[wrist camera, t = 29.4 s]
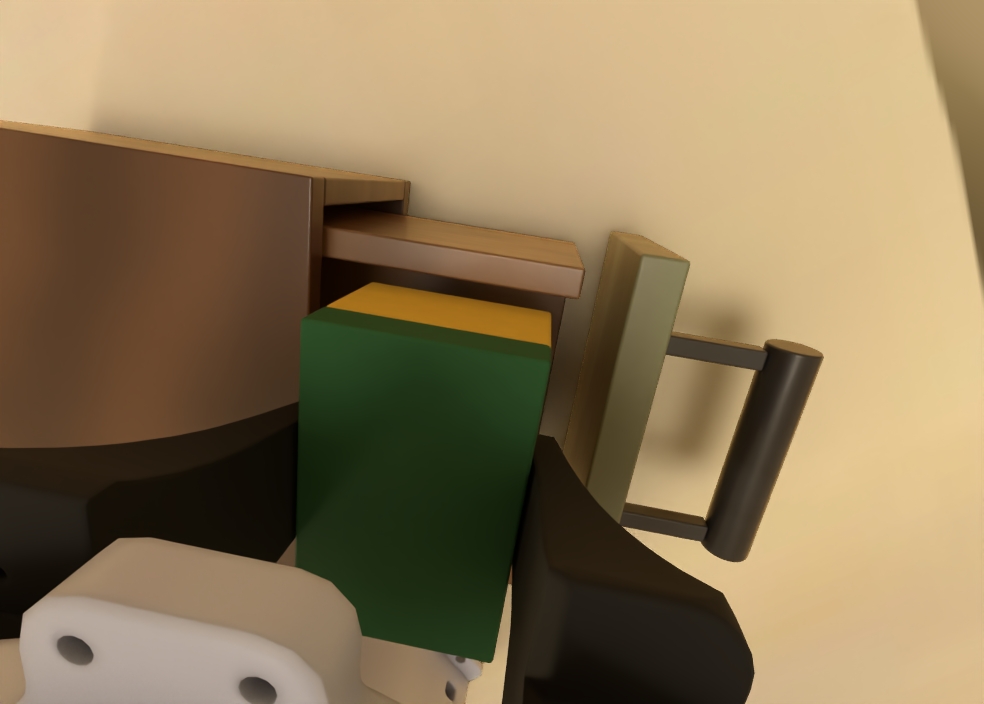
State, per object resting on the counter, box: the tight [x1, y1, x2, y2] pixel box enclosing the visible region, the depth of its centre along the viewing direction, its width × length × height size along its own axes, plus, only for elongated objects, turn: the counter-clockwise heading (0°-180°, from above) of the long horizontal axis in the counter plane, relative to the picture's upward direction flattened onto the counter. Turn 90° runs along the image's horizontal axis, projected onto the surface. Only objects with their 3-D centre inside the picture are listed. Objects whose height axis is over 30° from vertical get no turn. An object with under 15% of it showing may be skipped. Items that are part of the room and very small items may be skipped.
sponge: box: [295, 282, 551, 663], centre depth 12 cm, size 5×8×4 cm, turn 171°
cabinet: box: [0, 120, 410, 567], centre depth 18 cm, size 13×12×8 cm
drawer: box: [320, 205, 824, 585], centre depth 17 cm, size 17×11×7 cm, turn 81°
